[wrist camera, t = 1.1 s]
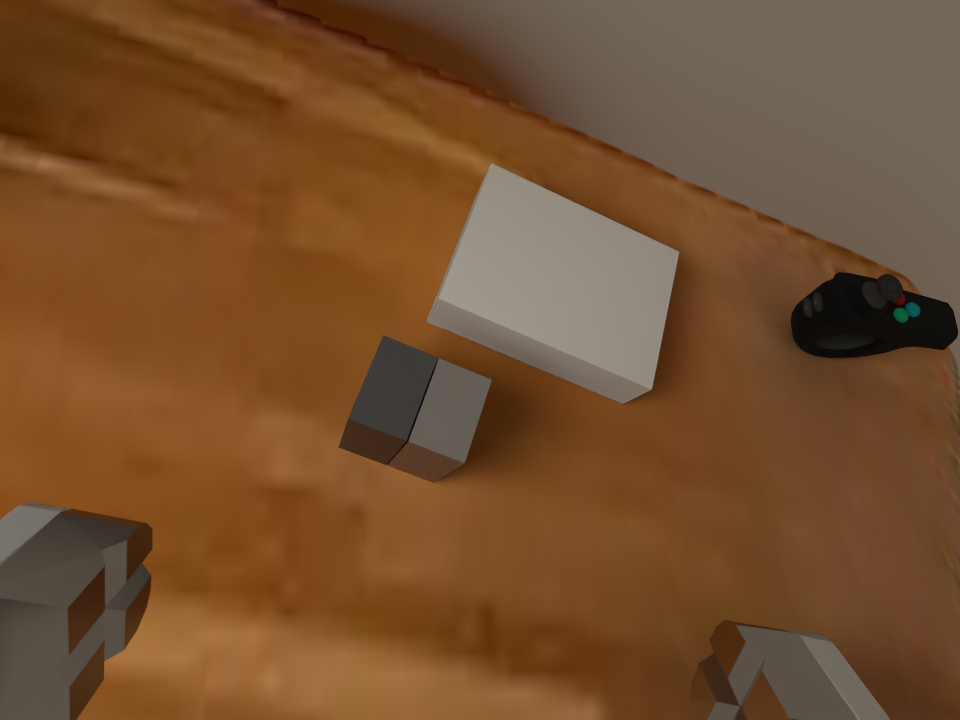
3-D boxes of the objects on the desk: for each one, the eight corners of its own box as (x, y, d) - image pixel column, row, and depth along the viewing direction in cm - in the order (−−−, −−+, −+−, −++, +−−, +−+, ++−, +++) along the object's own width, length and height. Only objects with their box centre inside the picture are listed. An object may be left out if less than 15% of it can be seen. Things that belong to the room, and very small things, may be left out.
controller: (758, 307, 51) (857, 251, 42) (870, 333, 54) (985, 286, 45) (762, 353, 49) (866, 305, 40) (877, 377, 52) (998, 337, 43)
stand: (426, 321, 41) (438, 298, 38) (476, 194, 46) (491, 163, 43) (622, 403, 44) (651, 389, 40) (650, 275, 49) (679, 251, 45)
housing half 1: (387, 465, 37) (408, 441, 30) (413, 396, 39) (439, 358, 32) (433, 482, 38) (464, 463, 31) (457, 413, 40) (491, 379, 33)
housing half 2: (338, 447, 37) (348, 418, 30) (367, 378, 39) (383, 335, 32) (385, 465, 37) (406, 440, 30) (412, 395, 39) (437, 357, 32)
